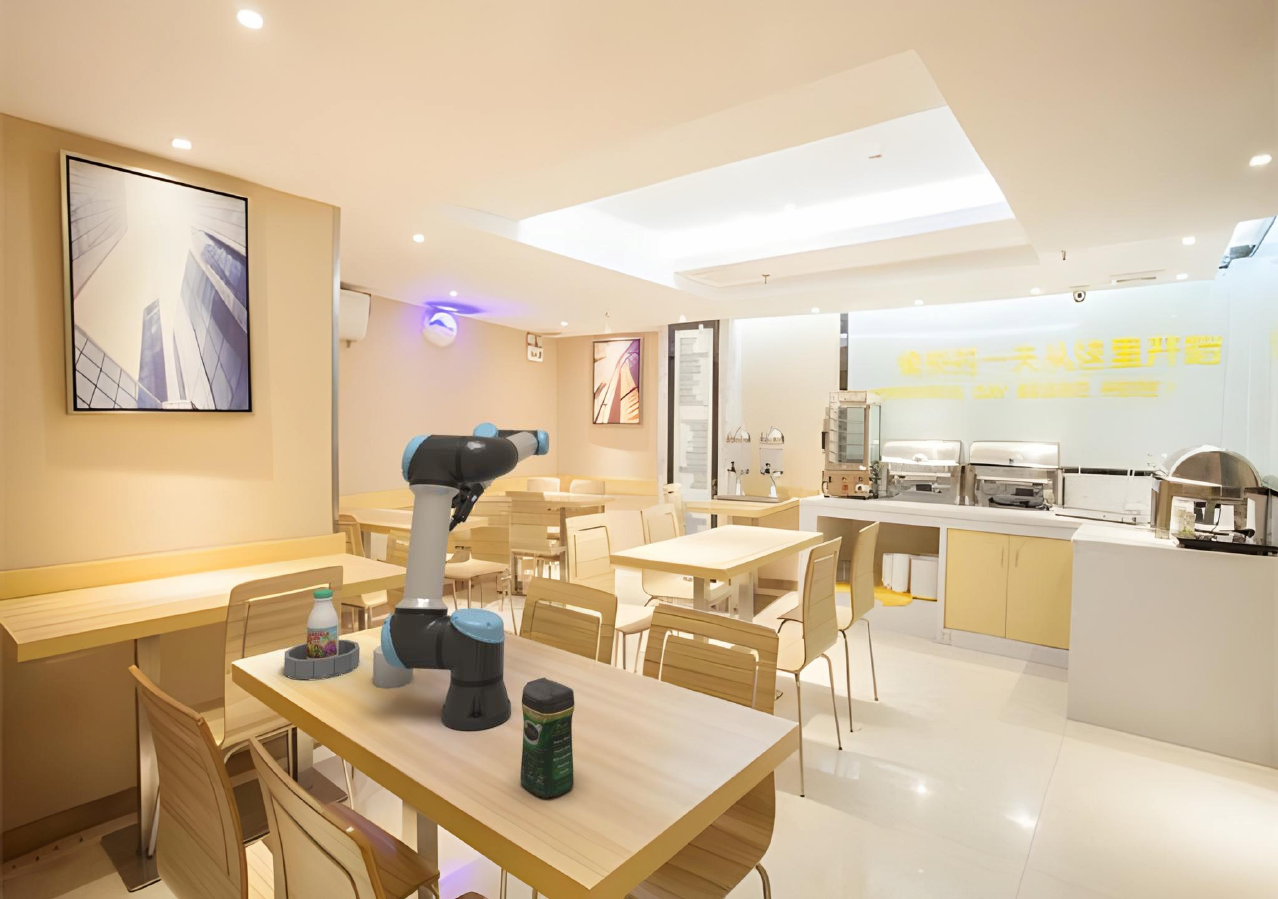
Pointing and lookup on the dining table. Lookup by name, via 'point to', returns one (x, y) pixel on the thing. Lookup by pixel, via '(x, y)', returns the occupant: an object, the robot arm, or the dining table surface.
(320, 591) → the milk bottle
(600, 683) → the dining table surface
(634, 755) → the dining table surface
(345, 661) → the bowl
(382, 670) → the toilet tissue
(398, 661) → the robot arm
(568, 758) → the coffee jar
